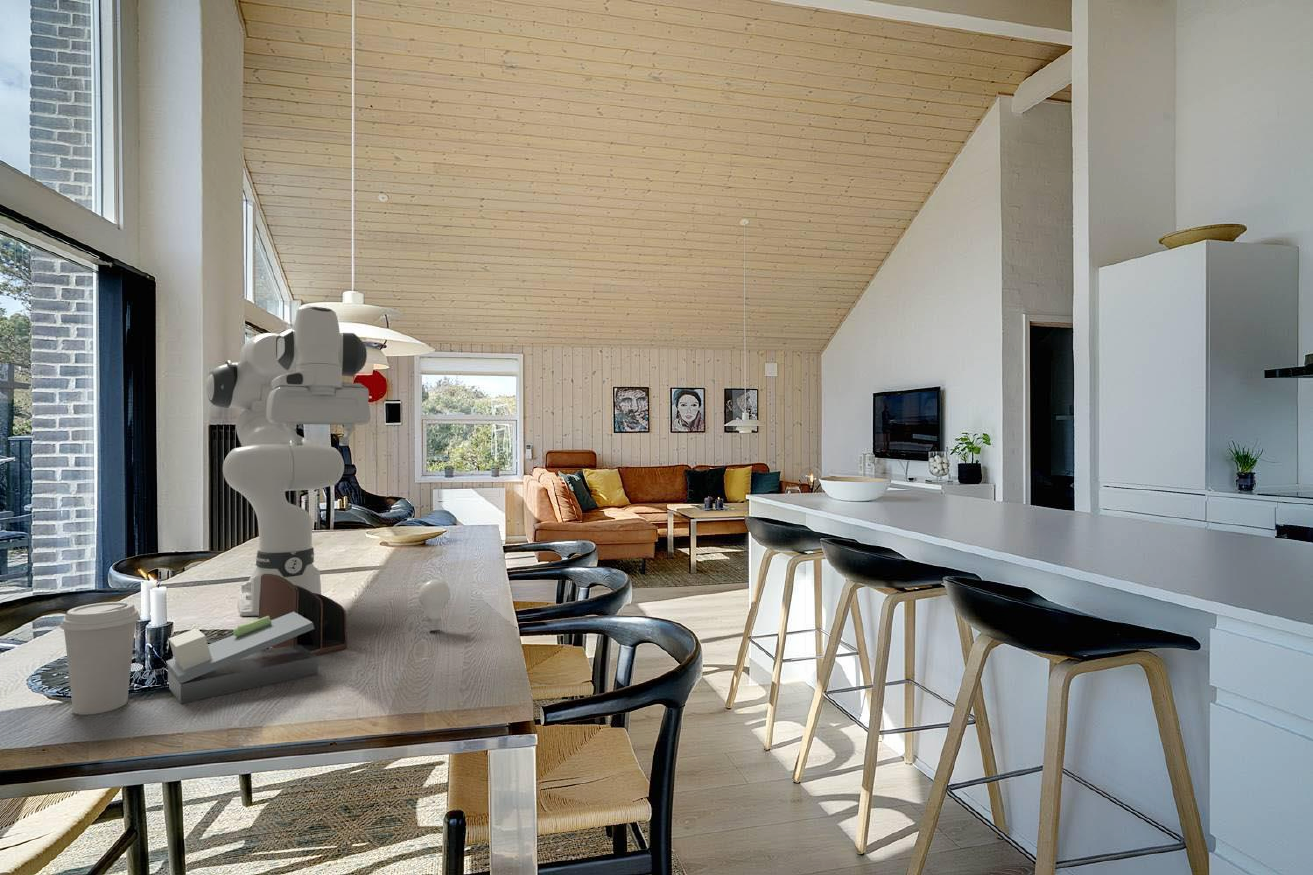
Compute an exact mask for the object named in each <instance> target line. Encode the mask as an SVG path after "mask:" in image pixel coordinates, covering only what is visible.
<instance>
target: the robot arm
mask: <svg viewBox="0 0 1313 875" xmlns="http://www.w3.org/2000/svg"><path fill="white" fill-rule="evenodd" d="M367 356H368V352H367V347H366V345H365V342H363V341H362V340H361V338H360V337H359V336H358V335H357V334H355V333H354V332H340V325H339V321H338V316H337V313H336V311H334V310H333V309H331V308H328V307H323V306H322V307H320V306H309V305H306V306H300V307H299V308H297V310H296V314H295V320H294V323H293V324H292V326H291V328H288V329H286V330H284V331H282V332H281V333H276V332H275V333H274V332H265V333H259V334H257V335H254V336H253V337H251V338H250V339H248V340H247V341H245V343H244V344H243V346H242V347H241V350H240V356H239V357H240V358H239V361H238V362H232V361H231V360H230V359H228V360H226V361H225V363H224V364H222V365H219V366H216V367H215V368H214V369H212V370H211V371H210V372H209V373H208V377H207V379H206V381H205V391H206V395H207V397H208V401H209V402H210V403H211V404H212V405H213V406H216V407H218V408H219V407H220V408H223V409H224V408H225V409H229V408H233V409H241V410H242V409H243V411H241V413H240V414H239V415H238V417H237V418H236V422H235V429H236V435H237V438H238V441H239V443H240V445H241V446H239V447H235V448H232V449H231V451H229V452H228V454H227V455H226V457H225V459H224V461H223V464H222V473H223V477H224V480H225V482H226V483H227V484H228V485H229V486H230V488H232V489H233V490H235V491H236V492H238V493H239V494H240V495H242V496H243V497H244V498H245V499H246V500H247V501H248V502H249V504H250V505H251V507H252V508H253V510H254V513H255V516H256V519H257V520H256V521H257V526H258V550H257V552H256V556H255V560H256V561H255V566H256V568H254V571H253V573H252V574H251V576H250V577H249V578H248V581H246V582H243V583H241V593H242V594H246V595H245V597H242V598H239V599H237V608H238V612H239V616H242V617H247V616H258V617H259V599H260V584H261V575H263V574H275V575H279V576H281V577H283V578H285V579H287V580H288V581H290V582H291V583H292V584H294V585H297V586H300V587H303V588H305V589H307V590H309V591H311V592H312V593H317V594H321V595H322V585H321V584H322V583H321V571H320V569H318V568H317V567H316V566H315V565H314V564H313V563H314V562H315V551H314V550H315V549H314V547H312V546H313V540H312V539H313V519H312V516H311V514H310V513H309V511H307V510H306V509H304V508H302V507H301V506H298V505H295V504H293V503H290V502H289V501H288V500H287V497H286V492H288V491H292V492H293V491H307V490H308V491H311V490H318V489H324V488H328V487H331V486H335V485H336V484H338V483H339V481H340V480H341V479H342V477H343V474H344V472H345V462H344V459H343V456H342V454H341V453H340V451H339V450H338V449H337V448H335V447H333V446H328V445H324V444H321V443H317V442H315V441H312V440H309V439H307V438H305V437H303V436H300V435H299V434H297V432H296V430H295V429H297V425H327V426H329V425H330V426H331V425H336V426H337V425H338V426H343V430H344V431H345V433H344V434H343V436H341V437H338V441H339V443H338V444H339V446H340V447H342V446H344V447H345V446H349V445H350V437H351V435H352V434H353V432H354V430H355V426H364V425H367V424H368V423H369V422H370V421H371V417H372V416H371V409H370V404H369V403H370V402H369V399H370V391H369V389H368V388H367V387H366V386H365V385H363V384H362V383H360V382H345V381H343V376H345V377H354V376H356V375H357V374H358V373H359V372H361V370H362V369H363V368H364V367H365V365H366V363H367V358H368V357H367Z"/></svg>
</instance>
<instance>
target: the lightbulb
mask: <svg viewBox="0 0 1313 875" xmlns="http://www.w3.org/2000/svg"><path fill="white" fill-rule="evenodd" d="M450 597H451V590H450V587H449V586H448V584H447V583H446V582H445V581H443V580H441V579H437V578H434V579H430V580H427V581H425V582H424V583H423V584H422V585H421V587H420V588H419V591H418V600H419V602H420V605H421V606H422V608H423V609H424V610H425V615H426V618H427V630H428V631H429V632H432V633H435V632H436V633H437V632H438V631H439V630H441V629H442V626H441V625H442V624H441V623H442V622H441V618H442V615H443V612H444V609H445V607H446V605H447V604H448V602H449V601H450V599H451V598H450Z"/></svg>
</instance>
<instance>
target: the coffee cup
mask: <svg viewBox="0 0 1313 875" xmlns="http://www.w3.org/2000/svg"><path fill="white" fill-rule="evenodd" d="M140 618H141V616H140V612H139V611H138V609H136V608H135V605H134V603H133V602H131V601H130V602H128V601H109V602H108V601H107V602H106V601H105V602H97V603H91V604H86V605H80V606H77V607H73V608H71V609H69V610H67V612H66V615H65V617H64V618H62V619H61V621H60V625H59V628H60V629H62V630H63V632H64V641H65V651H66V658H67V667H68V668H67V669H68V678H69V687H70V697H71V698H70V699H71V707H72V713H73V714H75V715H80V716H81V715H82V716H85V715H86V716H88V715H98V714H103V713H107V712H108V713H109V712H111V711H115V710H118V709H120V708H122V707H123V706H125V705H127V703H128V698H129V689H130V677H131V670H132V661H133V650H134V643H135V642H134V641H135V634H136V624H137V621H138V620H139V619H140Z"/></svg>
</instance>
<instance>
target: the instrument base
mask: <svg viewBox="0 0 1313 875" xmlns="http://www.w3.org/2000/svg"><path fill="white" fill-rule="evenodd" d="M318 669H319V657H318V655H315V654H313V653H312V652H310V651H309V650H307V649H306V648H304V647H303V646H301V645H300V644H296V645H291V646H286V647H280V648H270V649H264V650H262V651H259V652H257V653H254V654H252V655H249V656H247V657H245V658H242V659H240V660H237V661H235V662H232V663H230V664H228V665H225V666H223V667H220V668H218V669H215V670H213V671H211V672H208V673H206V674H203V675H201V676H198V677H196V678H193V679H191V680H189V681H186V682H184V683H180V682H179V681H178V680H177V678H176V677H175V676H174V675H173V674H172V672H171V671H170V670H169V669H168V668H167V684H168V683H169V688H168V689H169V691H170V692H171V693H172V694H173V696H174V697H175V698H176V700H177V701H178V703H179V704H180V705H181V704H182V705H183V704H185V703H186V704H187V703H190V702H195V701H200V700H204V699H209V698H214V697H218V696H223V695H227V694H232V693H236V692H237V693H238V692H240V691H246V690H250V689H255V688H259V687H264V686H268V685H274V684H279V683H282V682H283V683H284V682H288V681H291V680H296V679H300V678H301V679H302V678H305V677H310V676H314V675H318V674H319V670H318Z"/></svg>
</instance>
